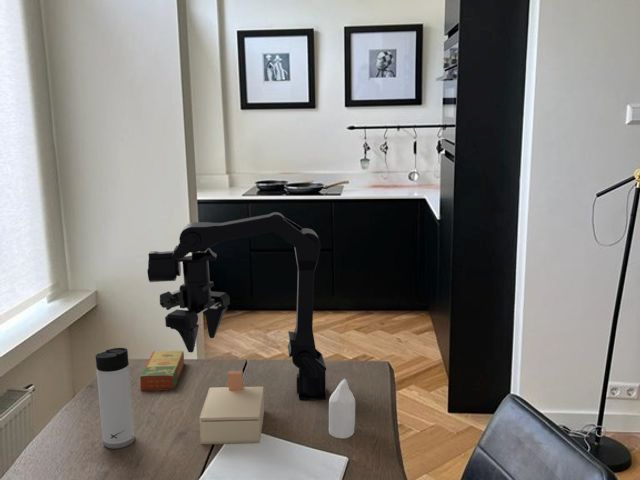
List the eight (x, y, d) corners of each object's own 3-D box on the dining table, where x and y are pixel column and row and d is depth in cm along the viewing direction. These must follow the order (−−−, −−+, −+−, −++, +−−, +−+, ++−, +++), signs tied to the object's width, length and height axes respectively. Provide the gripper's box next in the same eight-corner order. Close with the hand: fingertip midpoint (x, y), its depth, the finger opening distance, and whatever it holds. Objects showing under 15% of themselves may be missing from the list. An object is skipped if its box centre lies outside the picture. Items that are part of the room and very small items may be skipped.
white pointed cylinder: (326, 373, 133) (352, 371, 133) (327, 425, 135) (353, 423, 136) (330, 385, 127) (357, 383, 128) (330, 439, 129) (357, 438, 130)
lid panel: (263, 389, 141) (262, 369, 140) (259, 419, 127) (258, 398, 126) (209, 390, 141) (208, 370, 140) (199, 420, 127) (198, 399, 126)
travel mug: (118, 452, 125) (110, 358, 121) (96, 443, 129) (88, 352, 125) (142, 438, 131) (135, 348, 126) (120, 430, 134) (113, 342, 130)
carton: (184, 364, 169) (184, 349, 168) (174, 391, 154) (173, 374, 153) (153, 365, 169) (152, 350, 168) (140, 392, 153) (138, 375, 152)
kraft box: (264, 410, 142) (263, 390, 141) (259, 443, 128) (259, 420, 127) (210, 411, 142) (209, 391, 141) (200, 444, 128) (199, 422, 127)
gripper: (188, 266, 153) (193, 327, 156) (141, 288, 136) (147, 356, 139) (229, 269, 149) (233, 332, 152) (185, 292, 132) (191, 361, 135)
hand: (201, 344), depth 145 cm, fingers open, 9 cm apart
